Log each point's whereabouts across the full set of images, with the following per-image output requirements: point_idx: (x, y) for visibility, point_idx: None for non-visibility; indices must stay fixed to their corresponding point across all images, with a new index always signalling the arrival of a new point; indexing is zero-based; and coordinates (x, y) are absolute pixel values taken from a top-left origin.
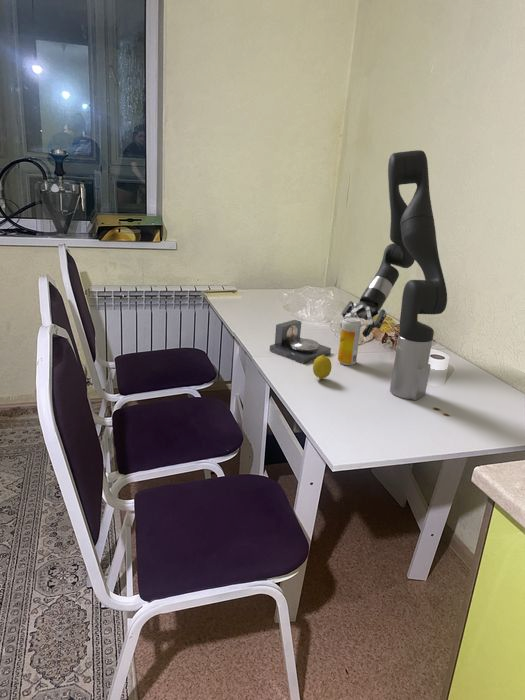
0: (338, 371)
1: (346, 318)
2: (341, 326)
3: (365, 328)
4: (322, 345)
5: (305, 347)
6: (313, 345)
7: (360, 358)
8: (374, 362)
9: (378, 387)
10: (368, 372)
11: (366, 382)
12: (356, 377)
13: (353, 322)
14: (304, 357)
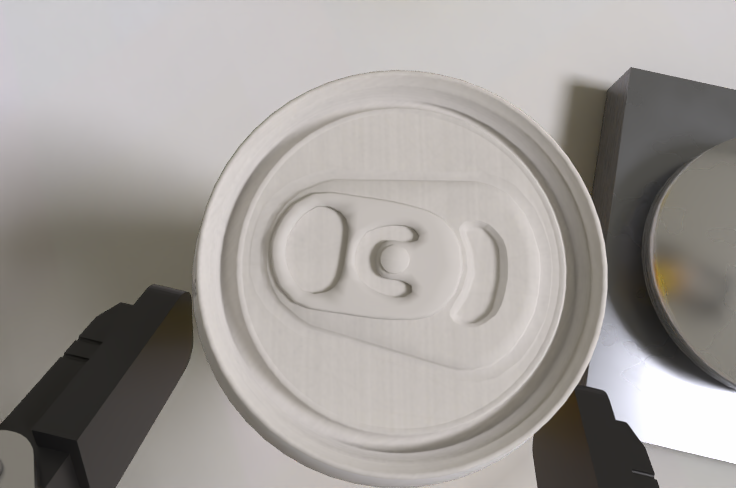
0: None
1: (559, 295)
2: (592, 389)
3: (132, 358)
4: (675, 444)
5: (721, 168)
6: (700, 262)
7: (312, 483)
8: (184, 470)
9: (43, 36)
10: (167, 231)
11: (132, 61)
12: (213, 97)
13: (299, 101)
14: (632, 82)
